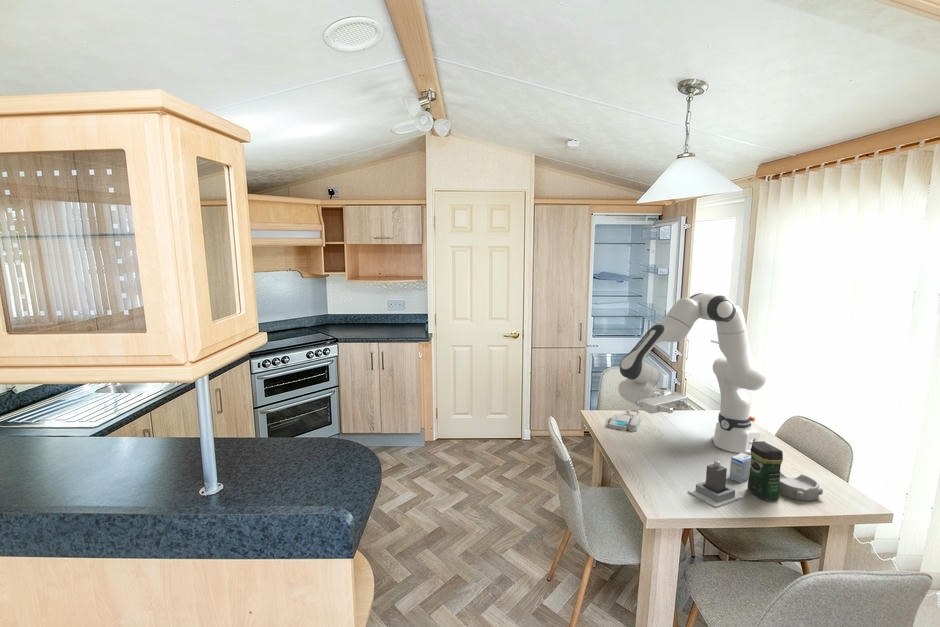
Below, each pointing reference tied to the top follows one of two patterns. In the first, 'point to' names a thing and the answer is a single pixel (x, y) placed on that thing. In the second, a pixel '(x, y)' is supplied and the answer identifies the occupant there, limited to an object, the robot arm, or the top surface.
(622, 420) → the intercom
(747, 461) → the medicine box
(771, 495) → the coffee jar
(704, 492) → the socket plate
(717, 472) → the plug
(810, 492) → the dish
